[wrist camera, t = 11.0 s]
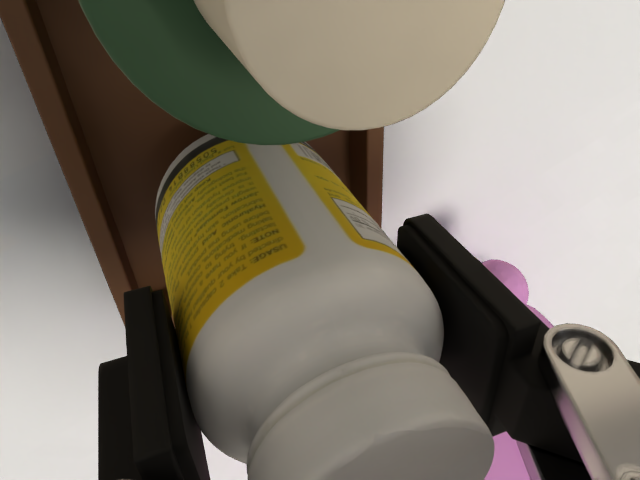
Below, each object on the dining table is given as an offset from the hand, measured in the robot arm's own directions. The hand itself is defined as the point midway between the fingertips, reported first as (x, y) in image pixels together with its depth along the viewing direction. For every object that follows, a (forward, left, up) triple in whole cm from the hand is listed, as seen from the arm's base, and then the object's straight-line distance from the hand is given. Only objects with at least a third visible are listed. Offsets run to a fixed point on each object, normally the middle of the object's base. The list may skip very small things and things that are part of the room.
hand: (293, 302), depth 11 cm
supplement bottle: (0, 0, -5) cm, 5 cm away
